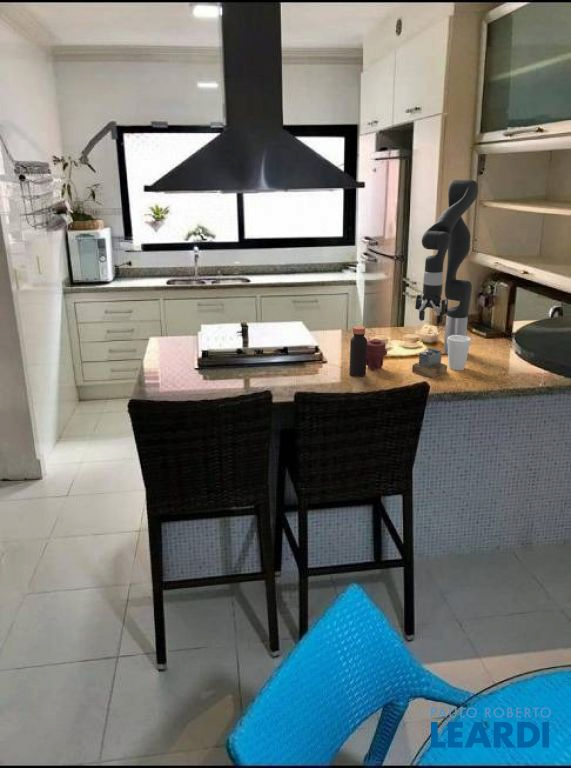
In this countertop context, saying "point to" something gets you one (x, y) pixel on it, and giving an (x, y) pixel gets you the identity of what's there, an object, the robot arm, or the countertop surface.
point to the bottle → (358, 352)
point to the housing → (430, 357)
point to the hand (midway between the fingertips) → (430, 322)
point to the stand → (429, 369)
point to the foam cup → (458, 351)
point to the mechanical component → (375, 354)
